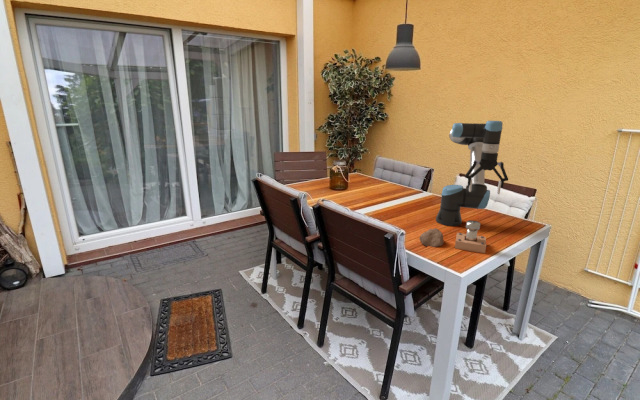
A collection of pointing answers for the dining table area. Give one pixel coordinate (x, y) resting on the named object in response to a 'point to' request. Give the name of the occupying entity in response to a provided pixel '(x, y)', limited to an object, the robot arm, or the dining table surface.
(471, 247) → the housing
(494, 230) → the dining table surface
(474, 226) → the grey metal plug
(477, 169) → the robot arm
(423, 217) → the dining table surface
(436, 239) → the stone
